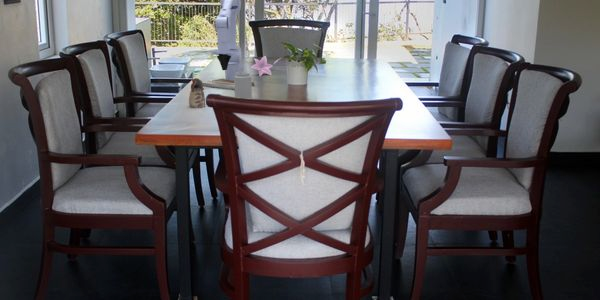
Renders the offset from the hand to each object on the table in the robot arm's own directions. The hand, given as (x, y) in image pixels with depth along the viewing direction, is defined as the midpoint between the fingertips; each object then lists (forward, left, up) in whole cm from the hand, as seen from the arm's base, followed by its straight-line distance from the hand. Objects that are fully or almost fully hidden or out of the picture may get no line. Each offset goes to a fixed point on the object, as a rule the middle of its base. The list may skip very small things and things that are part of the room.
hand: (224, 69), depth 343 cm
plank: (0, -1, -8) cm, 8 cm away
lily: (-42, -10, -9) cm, 44 cm away
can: (+22, +30, -9) cm, 38 cm away
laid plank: (-7, -1, -9) cm, 11 cm away
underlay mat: (-3, -1, -9) cm, 9 cm away
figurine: (+44, +23, -9) cm, 50 cm away
